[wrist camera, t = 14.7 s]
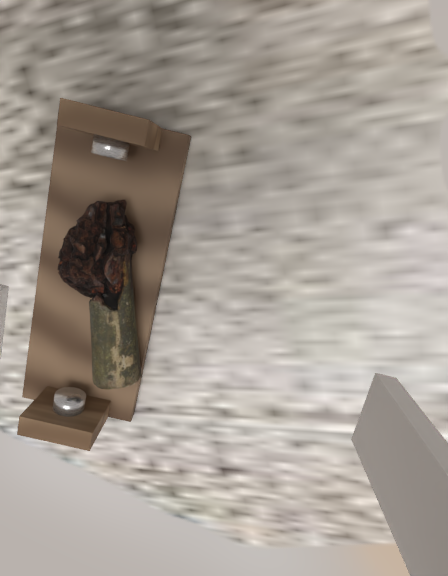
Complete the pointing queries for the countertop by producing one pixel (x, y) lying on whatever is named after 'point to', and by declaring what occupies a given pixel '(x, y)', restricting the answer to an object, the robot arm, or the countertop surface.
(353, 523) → the countertop surface
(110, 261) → the lumpy brown club
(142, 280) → the shaft stand
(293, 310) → the countertop surface
